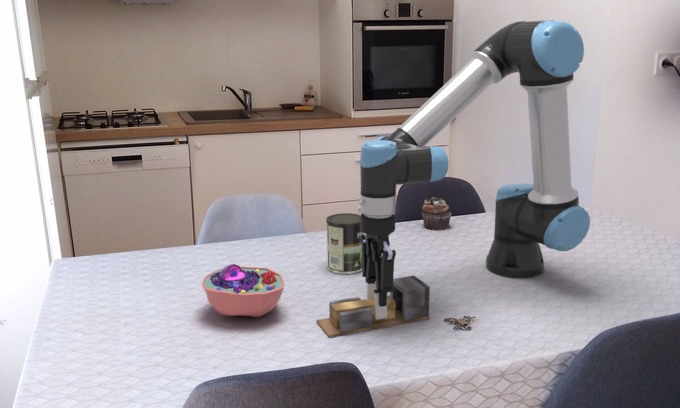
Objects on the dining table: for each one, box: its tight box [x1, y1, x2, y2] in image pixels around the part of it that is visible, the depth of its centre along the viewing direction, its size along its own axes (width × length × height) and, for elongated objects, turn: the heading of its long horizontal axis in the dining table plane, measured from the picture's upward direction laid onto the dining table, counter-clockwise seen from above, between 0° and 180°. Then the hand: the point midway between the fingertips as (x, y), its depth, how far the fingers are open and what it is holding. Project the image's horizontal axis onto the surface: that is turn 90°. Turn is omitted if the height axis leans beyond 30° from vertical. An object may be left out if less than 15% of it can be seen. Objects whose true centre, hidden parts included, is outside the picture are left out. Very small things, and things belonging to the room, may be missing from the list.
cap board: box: [316, 275, 430, 339], centre depth 142 cm, size 24×8×8 cm, turn 111°
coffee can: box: [325, 212, 365, 275], centre depth 173 cm, size 10×10×14 cm
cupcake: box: [421, 195, 452, 231], centre depth 208 cm, size 10×10×10 cm
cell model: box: [201, 263, 286, 318], centre depth 146 cm, size 17×20×11 cm
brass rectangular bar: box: [331, 295, 396, 328], centre depth 141 cm, size 14×4×4 cm, turn 111°
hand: (376, 314), depth 143 cm, fingers closed on brass rectangular bar, 3 cm apart
